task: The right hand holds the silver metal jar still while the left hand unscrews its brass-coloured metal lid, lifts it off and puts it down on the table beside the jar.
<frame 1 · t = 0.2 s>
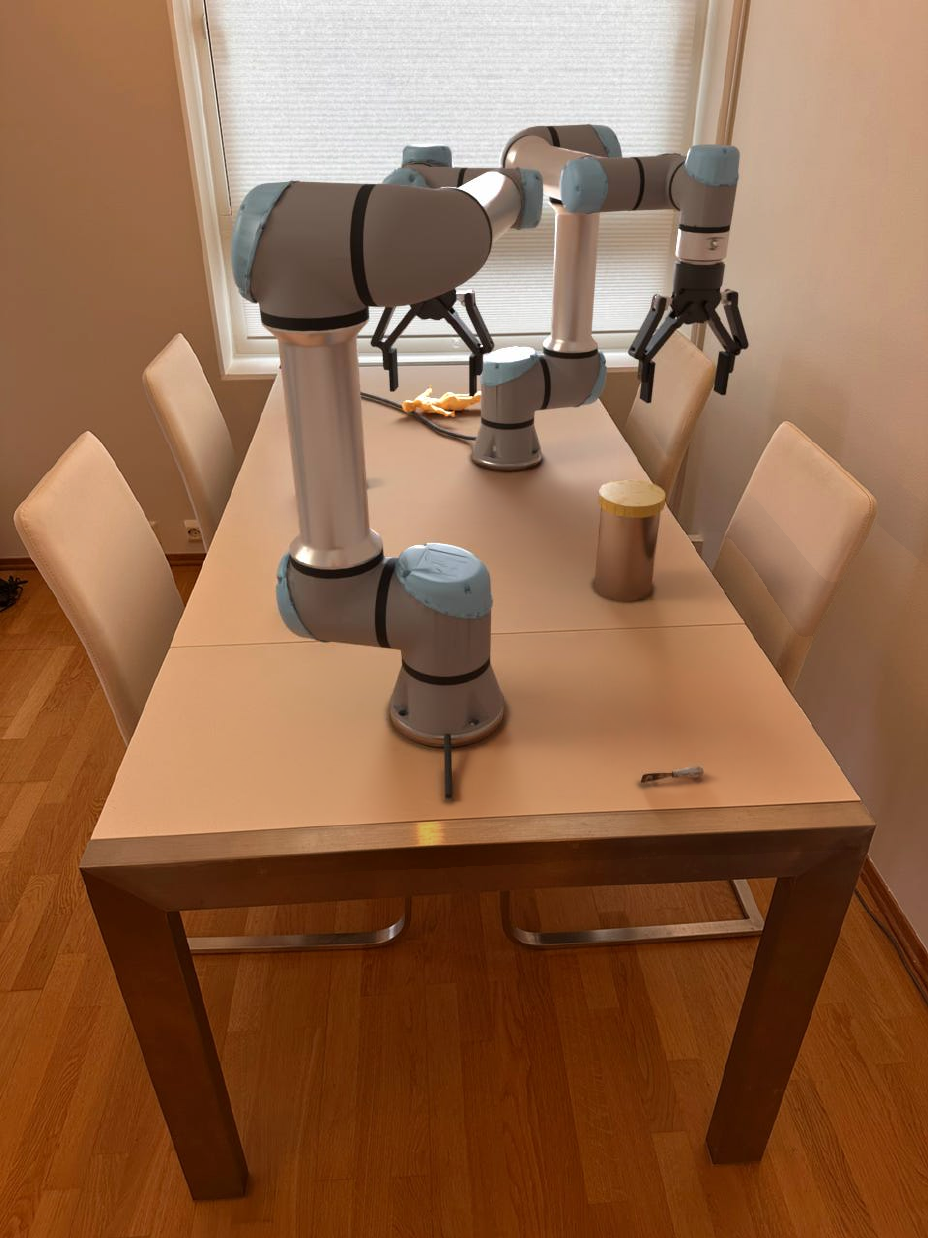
left hand: (433, 391, 149), 28 cm above the table, tool pointing down, fingers open, 13 cm apart
right hand: (682, 396, 147), 28 cm above the table, tool pointing down, fingers open, 13 cm apart
human figure: (450, 410, 226), on the table
jar: (622, 586, 150), on the table
handgun: (340, 497, 181), on the table
putty knife: (671, 781, 109), on the table
lid: (632, 494, 141), point 17 cm above the table, screwed on, not yet turned
stone: (333, 590, 149), on the table
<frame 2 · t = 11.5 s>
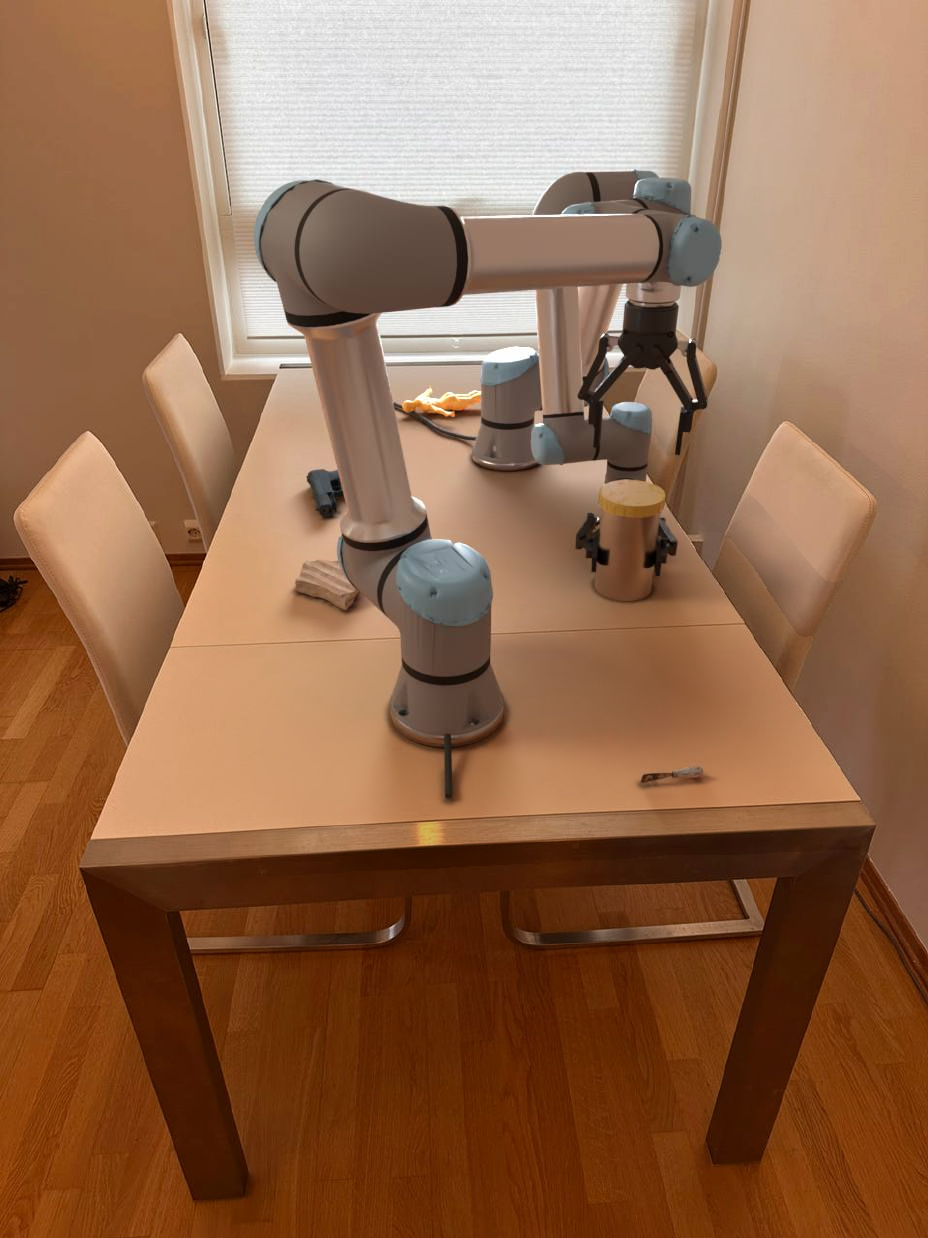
left hand: (636, 448, 137), 25 cm above the table, tool pointing down, fingers open, 12 cm apart
right hand: (626, 566, 143), 6 cm above the table, tool horizontal, fingers closed on jar, 9 cm apart
jar: (622, 586, 150), on the table, touching right hand
everything else where it was.
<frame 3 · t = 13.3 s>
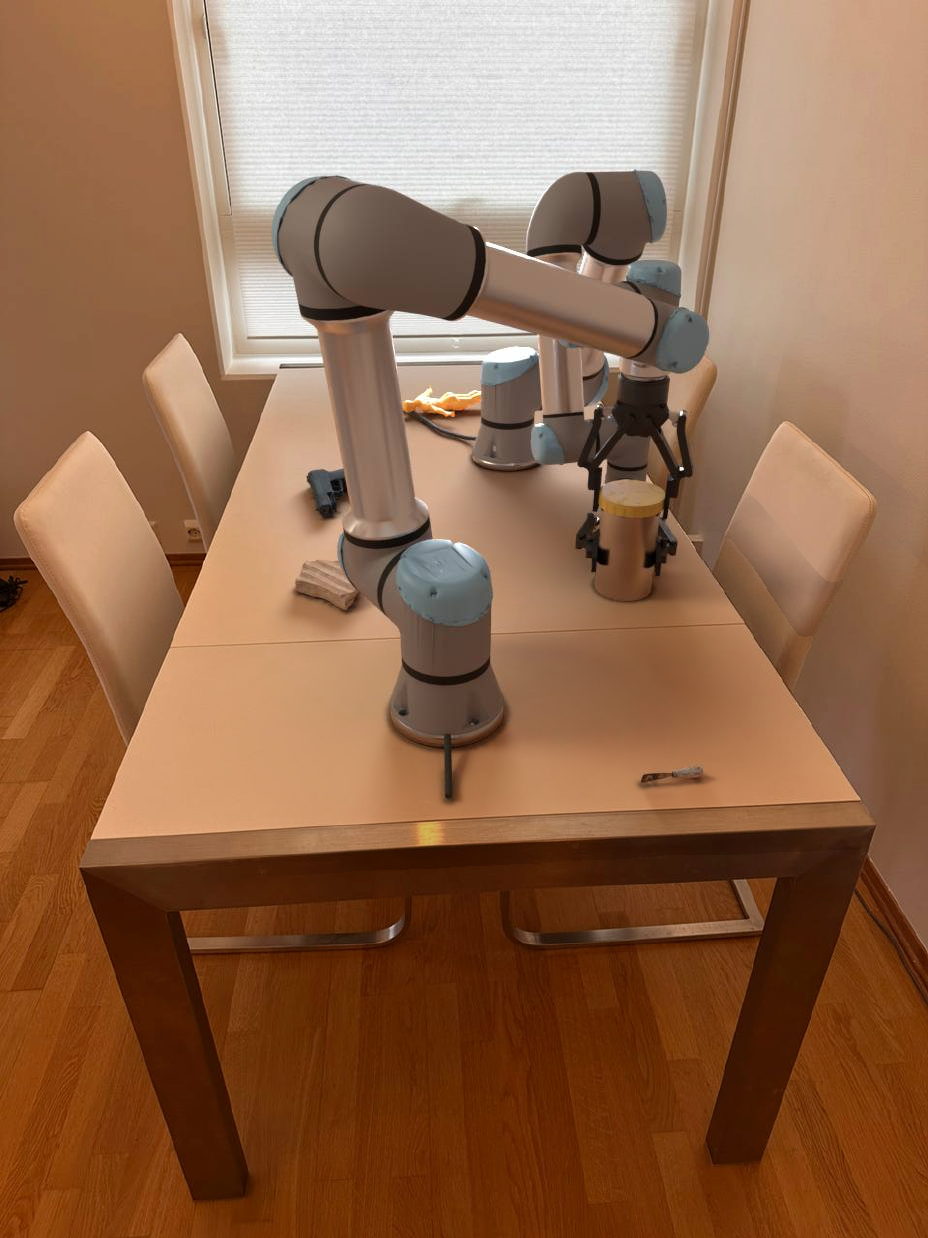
left hand: (630, 511, 142), 14 cm above the table, tool pointing down, fingers closed on lid, 10 cm apart
right hand: (626, 566, 143), 6 cm above the table, tool horizontal, fingers closed on jar, 9 cm apart
jar: (622, 586, 150), on the table, touching right hand
lid: (632, 494, 141), point 17 cm above the table, screwed on, not yet turned, touching left hand
everything else where it was.
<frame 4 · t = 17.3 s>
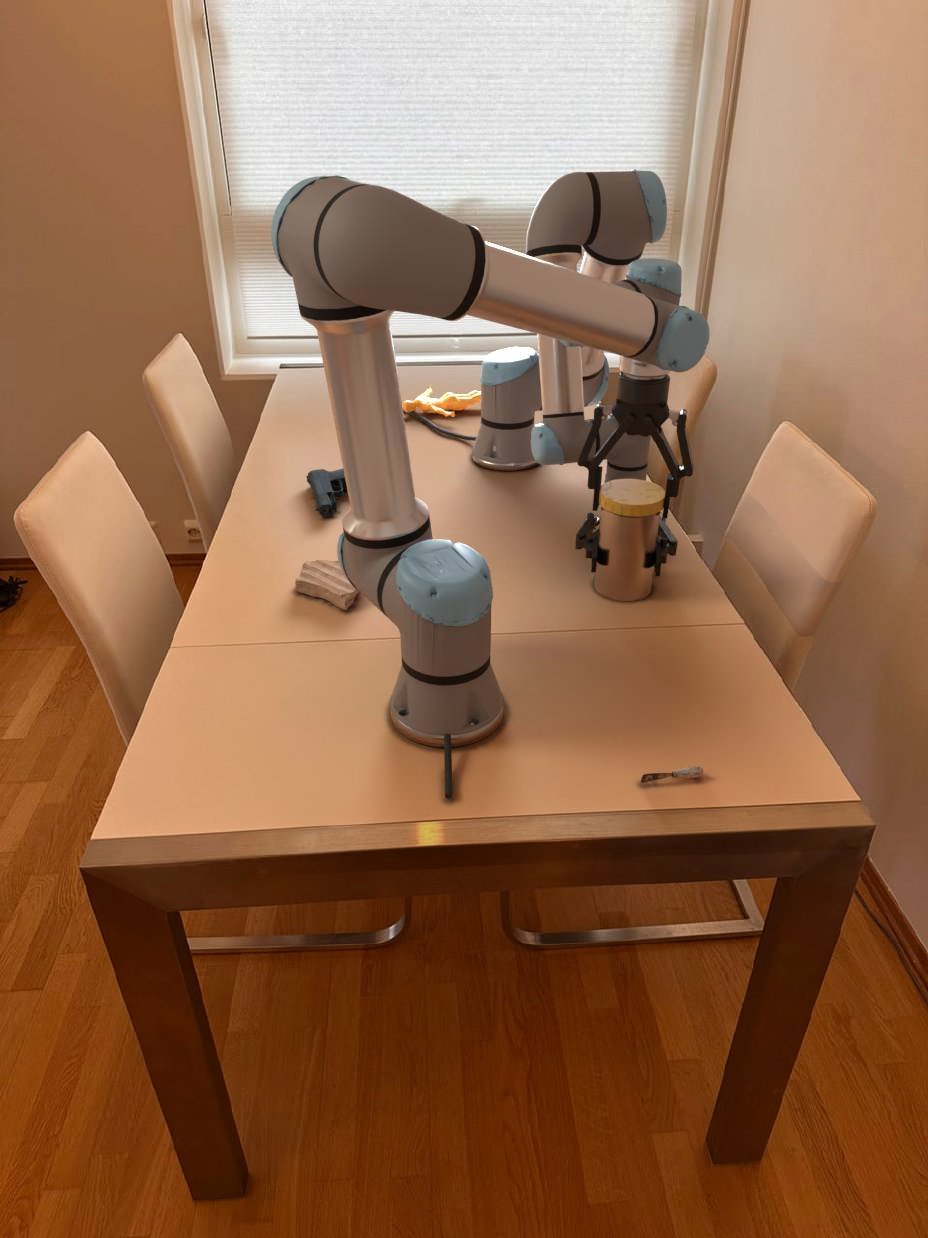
left hand: (630, 511, 142), 14 cm above the table, tool pointing down, fingers closed on lid, 10 cm apart
right hand: (626, 566, 143), 6 cm above the table, tool horizontal, fingers closed on jar, 9 cm apart
jar: (622, 586, 150), on the table, touching right hand
lid: (632, 493, 141), point 17 cm above the table, turned 132° so far, risen 0.2 cm, still on its thread, touching left hand
everything else where it was.
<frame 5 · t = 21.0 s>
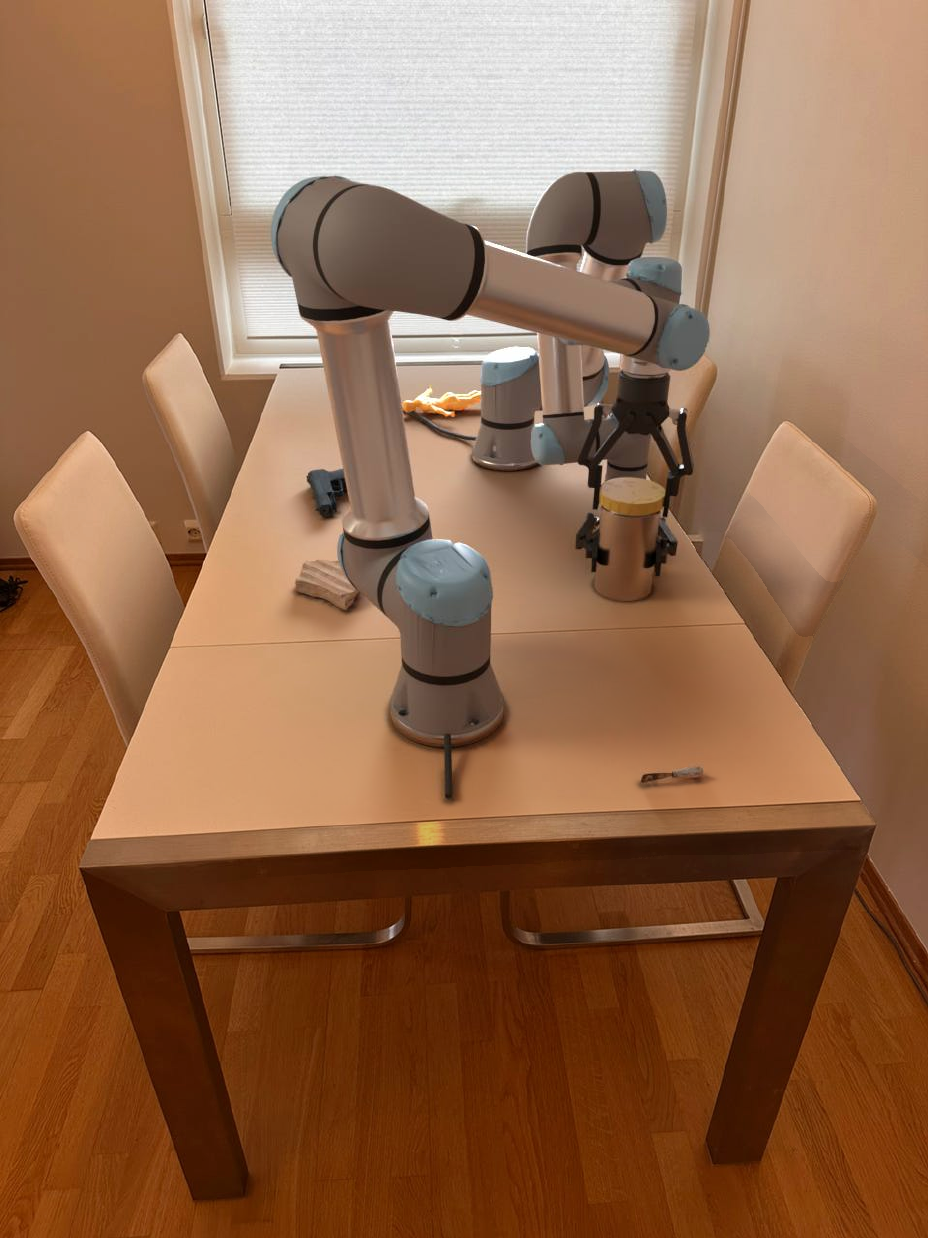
left hand: (630, 509, 142), 14 cm above the table, tool pointing down, fingers closed on lid, 10 cm apart
right hand: (626, 566, 143), 6 cm above the table, tool horizontal, fingers closed on jar, 9 cm apart
jar: (622, 586, 150), on the table, touching right hand
lid: (632, 492, 141), point 17 cm above the table, turned 265° so far, risen 0.4 cm, still on its thread, touching left hand
everything else where it was.
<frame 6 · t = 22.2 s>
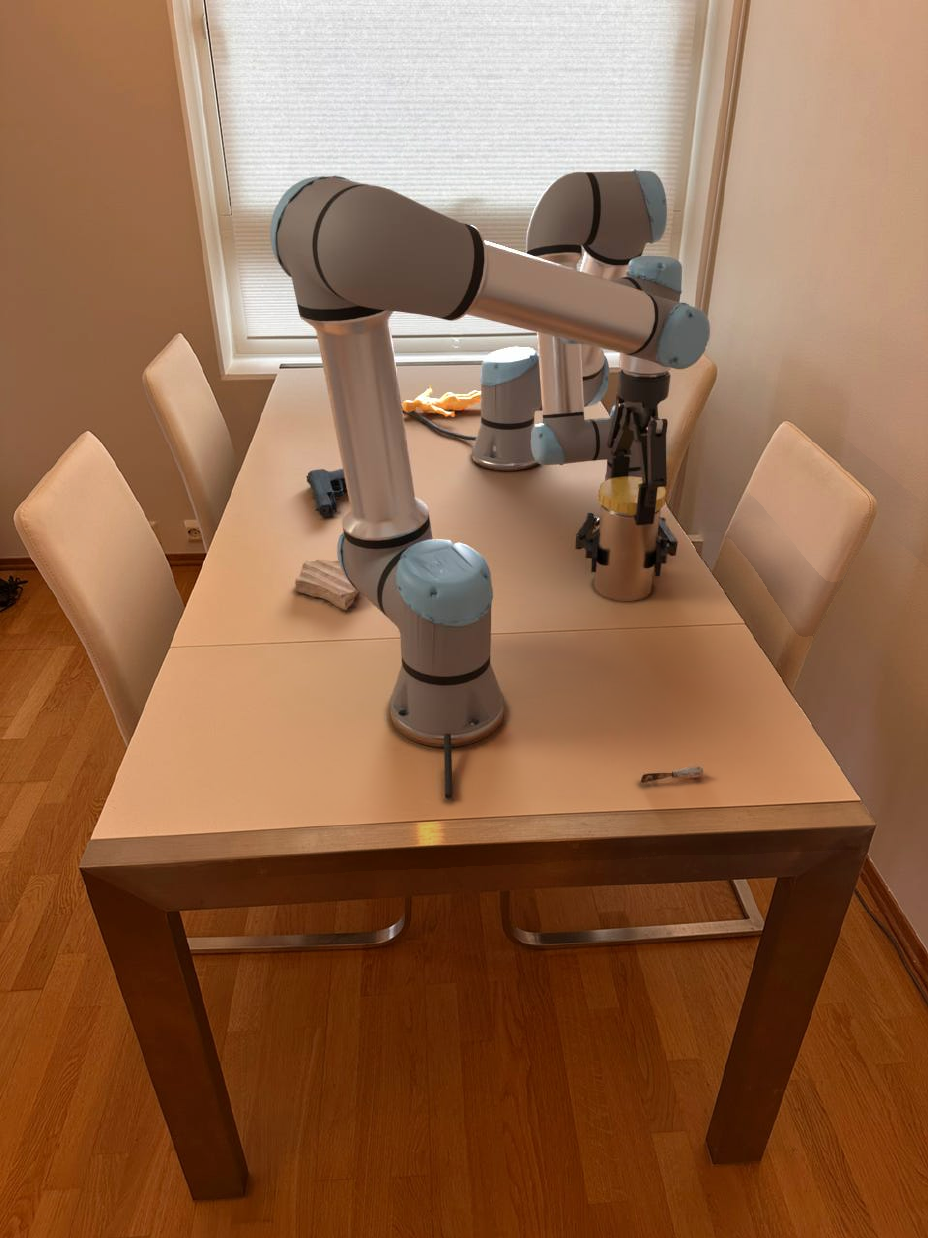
left hand: (630, 508, 142), 14 cm above the table, tool pointing down, fingers closed on lid, 10 cm apart
right hand: (626, 566, 143), 6 cm above the table, tool horizontal, fingers closed on jar, 9 cm apart
jar: (622, 586, 150), on the table, touching right hand
lid: (632, 491, 140), point 17 cm above the table, off its thread, touching left hand
everything else where it was.
when the left hand's fingers open (0 cm above the table, at t = 28.1 s): lid drops 2 cm, point 2 cm above the table.
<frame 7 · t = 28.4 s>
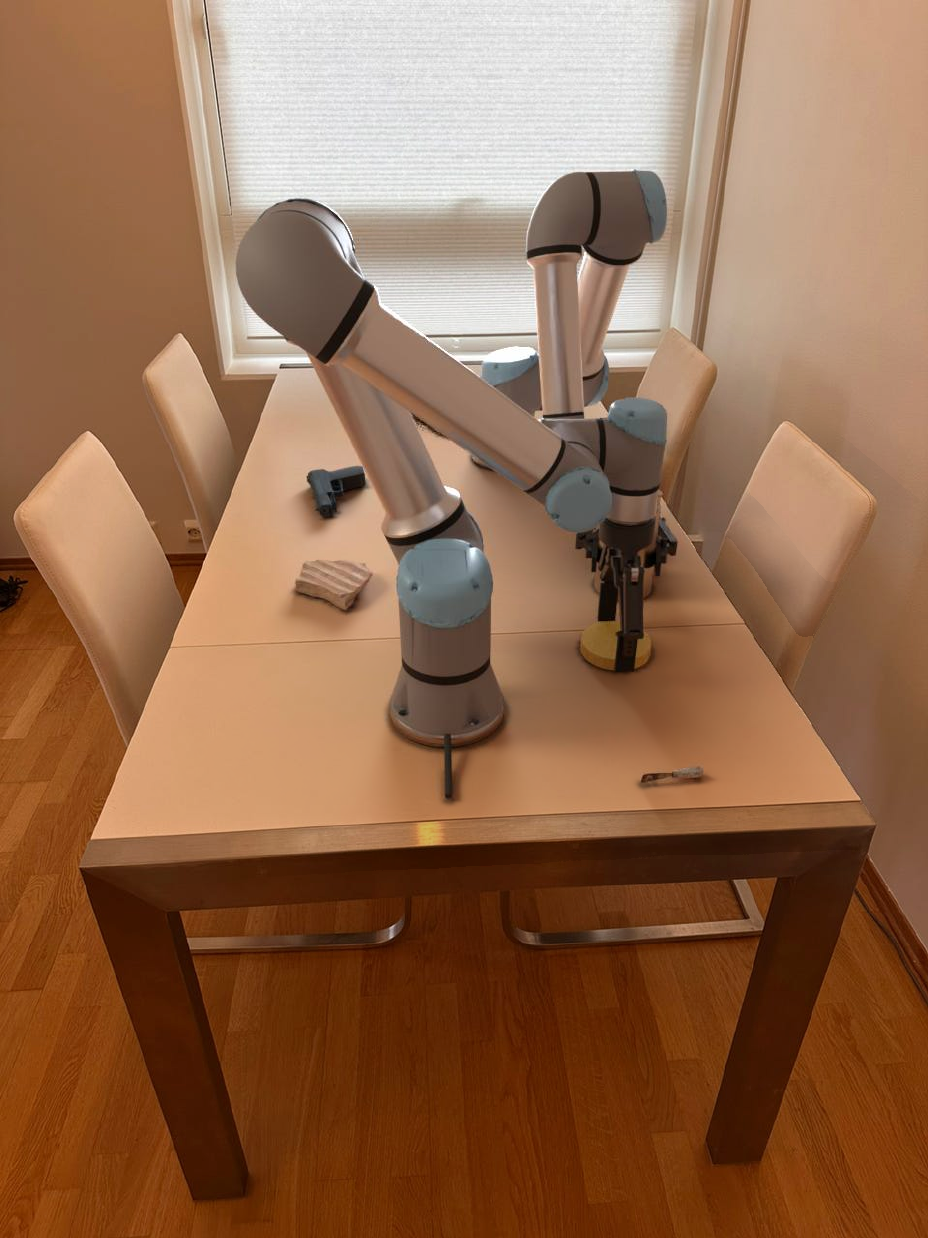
left hand: (614, 644, 133), 1 cm above the table, tool pointing down, fingers open, 13 cm apart
right hand: (626, 566, 143), 6 cm above the table, tool horizontal, fingers closed on jar, 9 cm apart
jar: (622, 586, 150), on the table, touching right hand
lid: (615, 642, 133), point 2 cm above the table, off its thread
everything else where it was.
when the right hand's fingers open (6 cm above the table, at t = 29.1 s): jar stays where it is, on the table.
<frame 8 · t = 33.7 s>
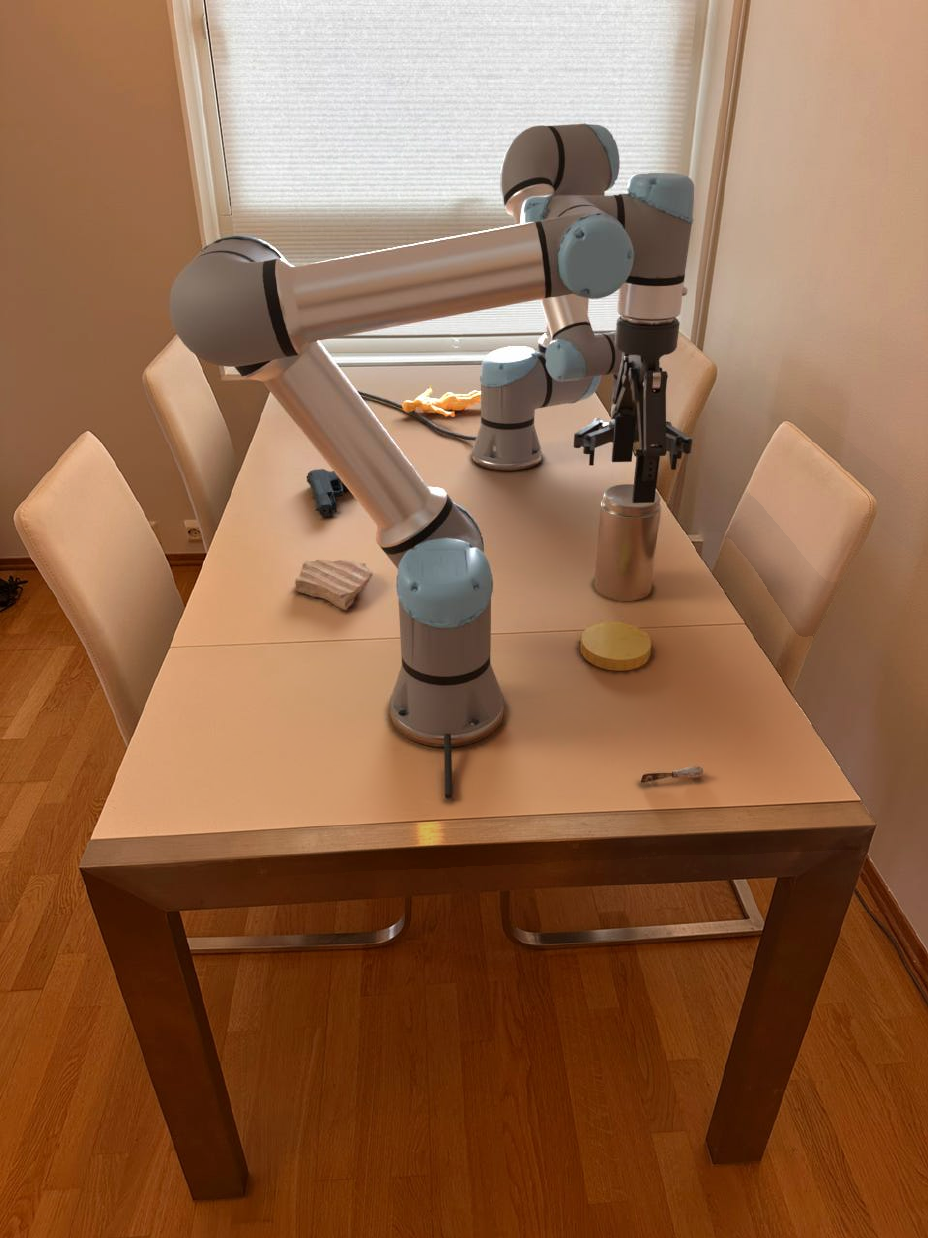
left hand: (631, 480, 119), 27 cm above the table, tool pointing down, fingers open, 13 cm apart
right hand: (632, 460, 149), 18 cm above the table, tool horizontal, fingers open, 13 cm apart
jar: (622, 586, 150), on the table
everything else where it was.
at the end: lid came off its thread; lid point 1.6 cm above the table; the left hand is holding nothing; the right hand is holding nothing; jar tilted 0°; jar moved 0.0 cm from its start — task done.
